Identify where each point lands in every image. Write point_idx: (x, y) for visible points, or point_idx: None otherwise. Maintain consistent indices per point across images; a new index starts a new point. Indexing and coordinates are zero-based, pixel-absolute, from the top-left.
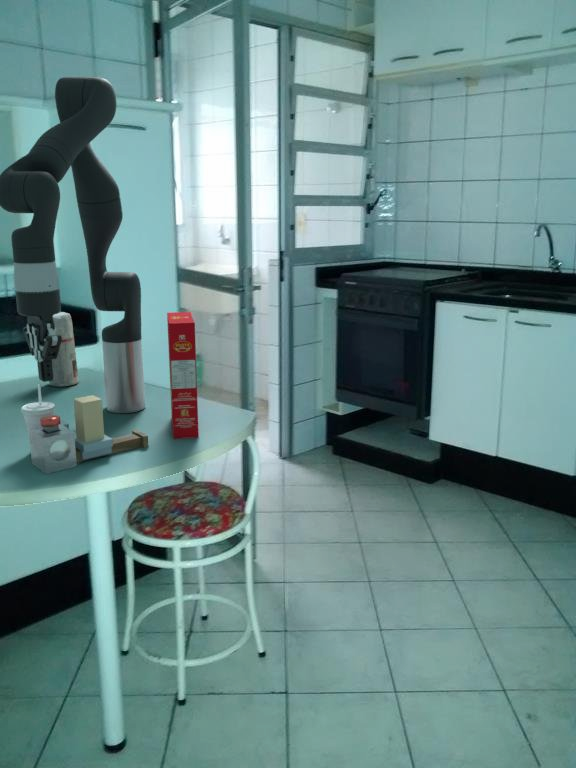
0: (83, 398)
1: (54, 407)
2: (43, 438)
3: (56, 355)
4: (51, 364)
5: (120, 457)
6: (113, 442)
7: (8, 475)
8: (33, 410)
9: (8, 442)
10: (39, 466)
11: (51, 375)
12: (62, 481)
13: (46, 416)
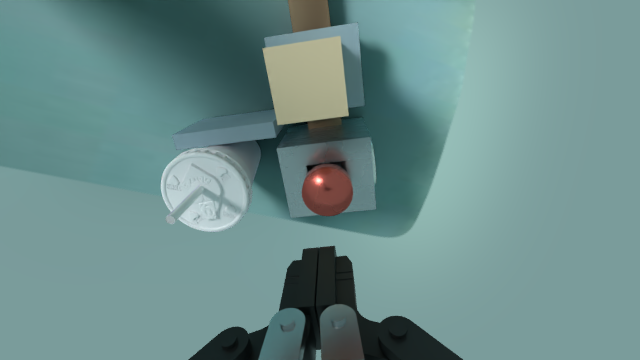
0: (292, 94)
1: (216, 154)
2: (375, 207)
3: (431, 341)
4: (334, 292)
5: (364, 11)
6: (319, 9)
7: (335, 226)
8: (242, 213)
9: (158, 192)
10: None
11: (351, 266)
12: (421, 161)
13: (307, 197)
